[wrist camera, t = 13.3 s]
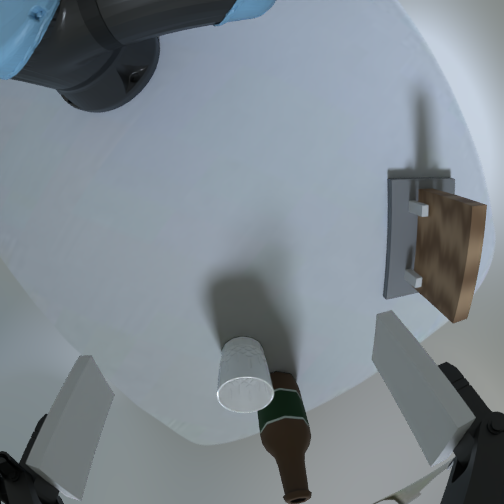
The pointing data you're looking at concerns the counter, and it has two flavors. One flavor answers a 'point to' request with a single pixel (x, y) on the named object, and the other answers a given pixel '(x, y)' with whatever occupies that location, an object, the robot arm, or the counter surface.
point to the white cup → (244, 376)
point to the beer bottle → (287, 435)
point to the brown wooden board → (449, 251)
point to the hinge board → (406, 231)
